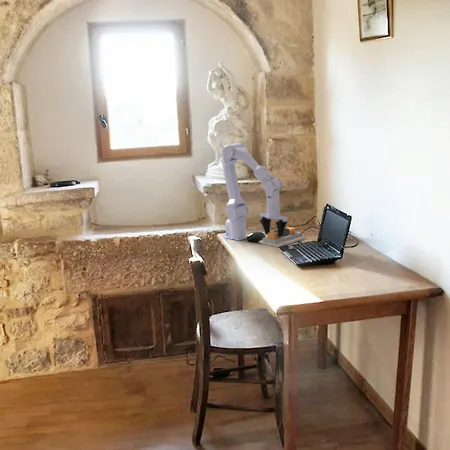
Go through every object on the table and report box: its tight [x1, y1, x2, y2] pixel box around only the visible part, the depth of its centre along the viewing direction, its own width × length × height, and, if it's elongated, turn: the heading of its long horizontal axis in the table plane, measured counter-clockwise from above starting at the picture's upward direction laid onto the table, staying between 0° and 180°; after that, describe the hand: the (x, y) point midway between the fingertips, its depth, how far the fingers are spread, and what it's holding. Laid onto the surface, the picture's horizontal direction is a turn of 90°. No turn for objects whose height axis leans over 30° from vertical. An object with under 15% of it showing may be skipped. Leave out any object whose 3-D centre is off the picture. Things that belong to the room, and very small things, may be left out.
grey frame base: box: [258, 226, 306, 248], centre depth 270 cm, size 12×18×5 cm, turn 134°
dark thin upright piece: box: [317, 206, 327, 243], centre depth 269 cm, size 2×24×15 cm, turn 162°
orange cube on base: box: [266, 229, 281, 240], centre depth 266 cm, size 4×5×4 cm
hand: (273, 235), depth 266 cm, fingers open, 7 cm apart
